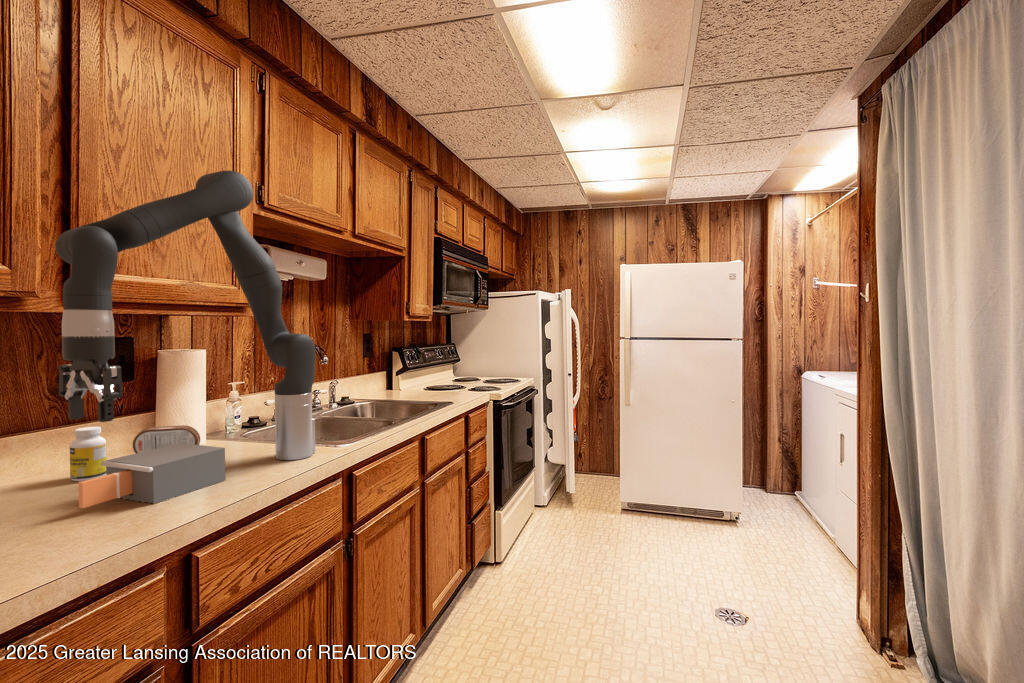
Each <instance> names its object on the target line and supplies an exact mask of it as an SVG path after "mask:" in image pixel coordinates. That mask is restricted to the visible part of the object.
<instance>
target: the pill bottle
mask: <svg viewBox="0 0 1024 683" xmlns="http://www.w3.org/2000/svg"><path fill="white" fill-rule="evenodd" d="M100 434H102V427H101V426H84V427H79V428H76V429H74V437H75V439H73V441H71V442H70V444H69V475H70V476H69V477H70V480H71V481H73V482H82V481H86V480H90V479H94V478H98V477H102V476H106V466H101V462H102V461H106V460H108V459H107V440H106V439H105V438H104V437H103V436H101V435H100Z"/></svg>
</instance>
